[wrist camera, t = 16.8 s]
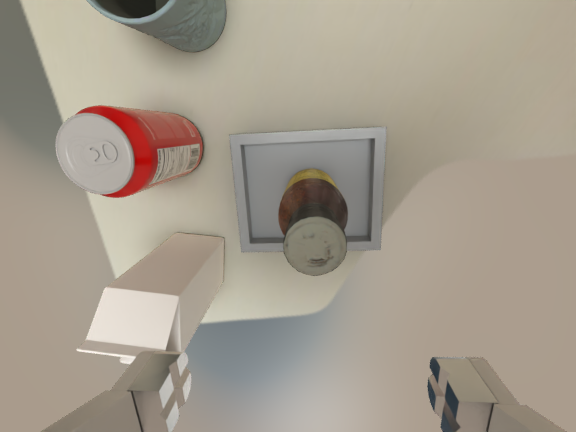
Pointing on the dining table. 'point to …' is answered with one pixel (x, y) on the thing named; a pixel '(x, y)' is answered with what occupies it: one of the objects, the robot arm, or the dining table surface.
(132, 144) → the soda can
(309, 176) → the sauce bottle
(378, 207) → the tray
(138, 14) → the blue gray cup
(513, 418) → the robot arm
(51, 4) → the dining table surface
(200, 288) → the milk carton
